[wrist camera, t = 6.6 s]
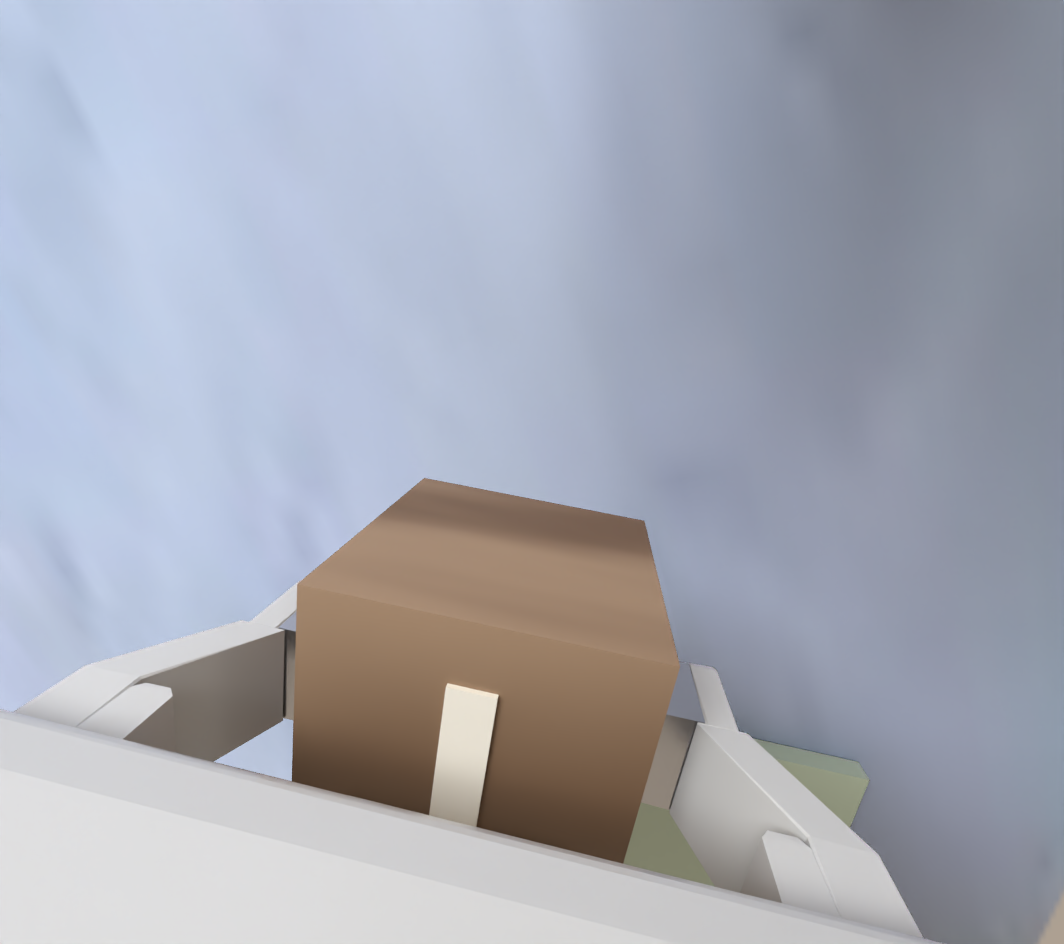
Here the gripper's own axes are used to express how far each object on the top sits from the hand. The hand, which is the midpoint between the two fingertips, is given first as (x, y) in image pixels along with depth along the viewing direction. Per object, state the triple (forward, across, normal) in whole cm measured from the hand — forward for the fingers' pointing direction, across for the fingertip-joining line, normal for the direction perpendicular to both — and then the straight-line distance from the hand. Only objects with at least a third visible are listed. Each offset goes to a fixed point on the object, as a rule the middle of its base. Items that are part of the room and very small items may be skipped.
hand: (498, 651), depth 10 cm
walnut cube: (+2, 0, 0) cm, 2 cm away
